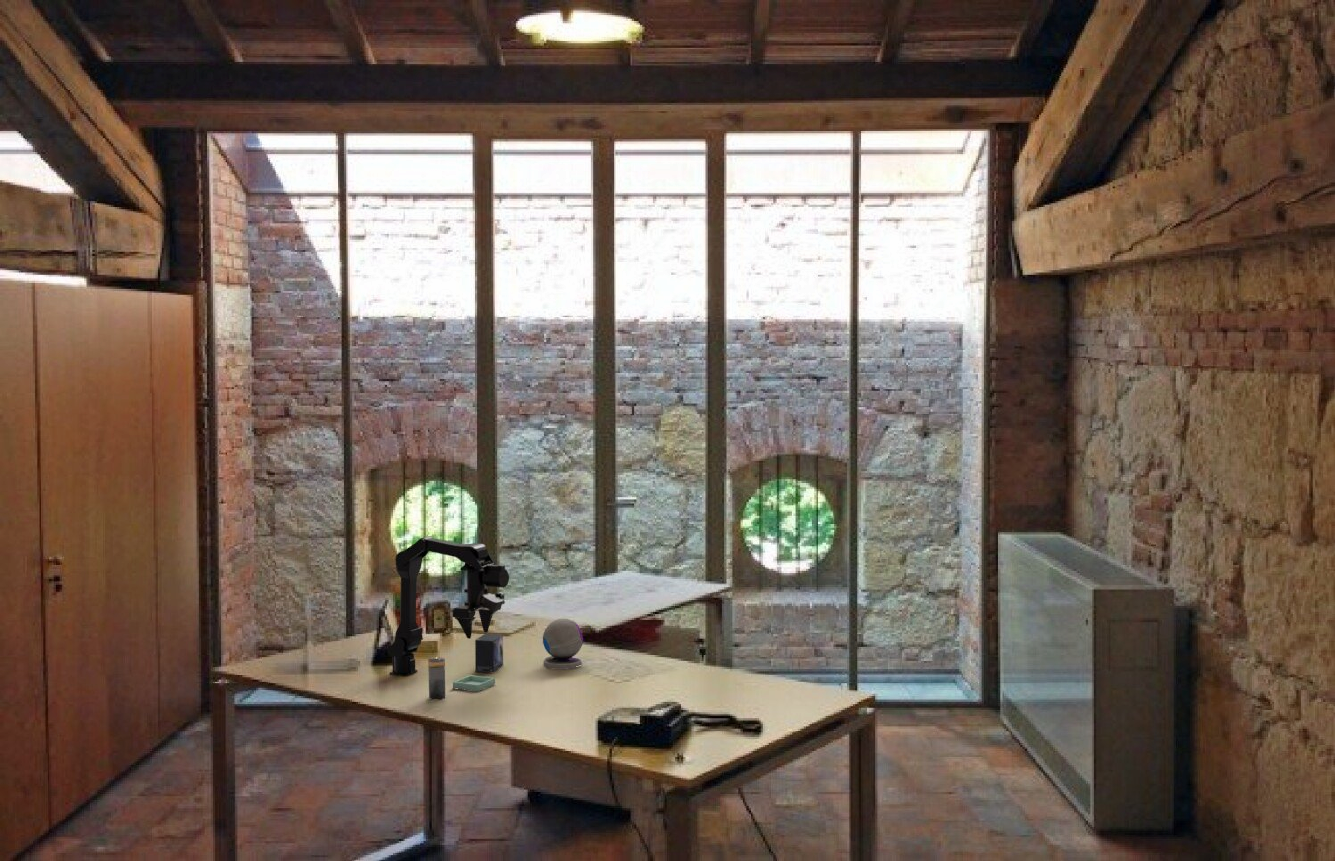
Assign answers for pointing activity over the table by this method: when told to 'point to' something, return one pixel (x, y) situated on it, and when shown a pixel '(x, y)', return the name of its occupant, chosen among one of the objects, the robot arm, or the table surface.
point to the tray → (474, 683)
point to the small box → (488, 652)
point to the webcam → (562, 644)
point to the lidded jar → (436, 677)
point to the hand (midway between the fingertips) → (477, 635)
